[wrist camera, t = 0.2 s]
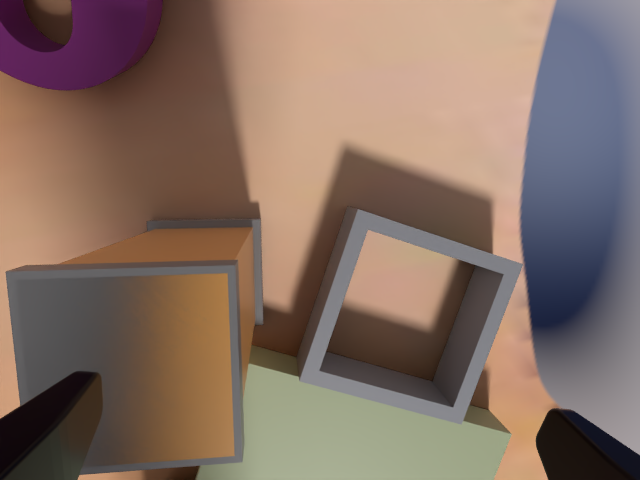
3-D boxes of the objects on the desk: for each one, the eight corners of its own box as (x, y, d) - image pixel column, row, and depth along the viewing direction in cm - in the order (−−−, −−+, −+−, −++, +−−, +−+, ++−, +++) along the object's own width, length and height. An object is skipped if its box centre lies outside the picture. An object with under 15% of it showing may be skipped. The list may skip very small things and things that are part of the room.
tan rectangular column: (263, 320, 24) (250, 468, 11) (157, 324, 23) (21, 486, 11) (260, 218, 23) (243, 257, 10) (151, 220, 22) (-5, 263, 10)
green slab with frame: (442, 590, 27) (474, 667, 23) (149, 531, 24) (122, 606, 20) (566, 279, 25) (626, 298, 21) (261, 177, 22) (257, 175, 18)
